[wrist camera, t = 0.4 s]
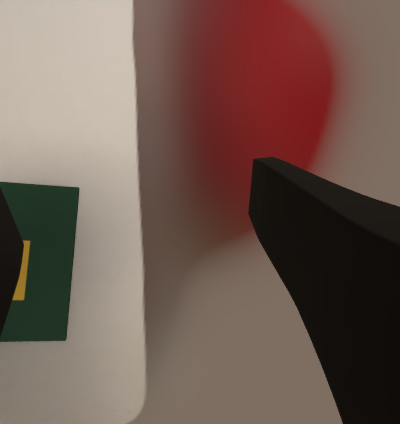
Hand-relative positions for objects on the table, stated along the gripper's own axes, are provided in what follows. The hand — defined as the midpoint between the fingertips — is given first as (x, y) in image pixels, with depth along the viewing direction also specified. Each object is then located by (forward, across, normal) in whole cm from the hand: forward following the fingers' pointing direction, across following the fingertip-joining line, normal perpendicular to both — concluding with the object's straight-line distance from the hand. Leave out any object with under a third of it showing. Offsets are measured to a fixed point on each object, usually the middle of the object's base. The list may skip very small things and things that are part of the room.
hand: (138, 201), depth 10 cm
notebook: (+20, +13, +18) cm, 31 cm away
